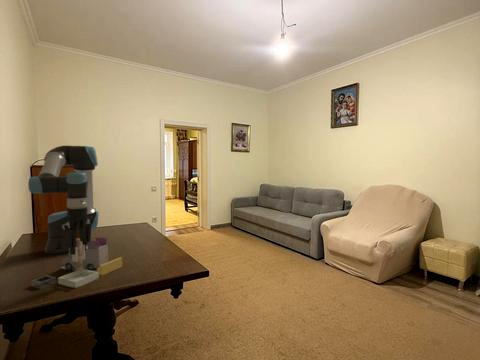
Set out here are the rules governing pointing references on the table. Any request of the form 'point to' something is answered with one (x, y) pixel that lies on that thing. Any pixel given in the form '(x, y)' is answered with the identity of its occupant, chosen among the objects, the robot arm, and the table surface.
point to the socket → (43, 282)
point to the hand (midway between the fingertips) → (78, 259)
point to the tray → (78, 278)
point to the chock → (110, 266)
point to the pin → (79, 255)
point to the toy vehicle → (90, 255)
